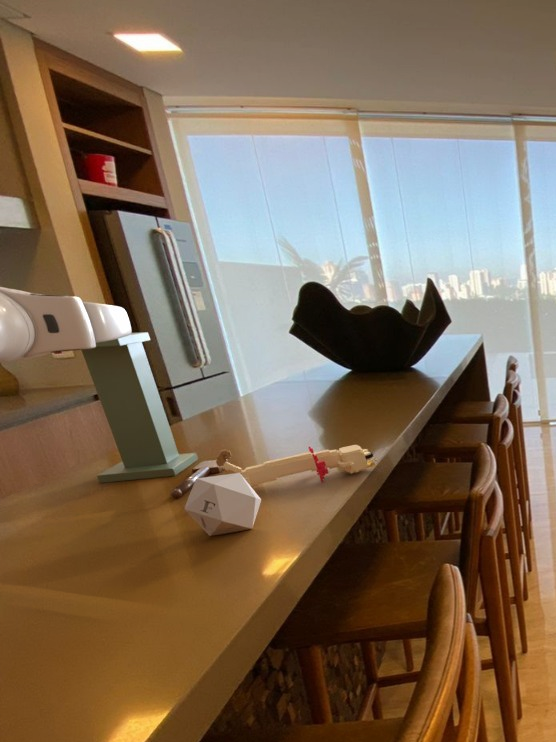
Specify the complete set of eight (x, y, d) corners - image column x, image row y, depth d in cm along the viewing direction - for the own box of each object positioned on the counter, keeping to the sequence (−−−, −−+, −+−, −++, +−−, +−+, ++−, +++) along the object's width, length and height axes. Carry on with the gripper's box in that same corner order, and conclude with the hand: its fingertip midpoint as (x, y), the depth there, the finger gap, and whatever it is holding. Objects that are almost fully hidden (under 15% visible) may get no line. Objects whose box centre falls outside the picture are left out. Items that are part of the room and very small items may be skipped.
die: (186, 536, 84) (159, 498, 76) (225, 491, 89) (204, 451, 81) (244, 554, 85) (224, 519, 77) (279, 508, 90) (263, 471, 82)
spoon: (191, 497, 97) (188, 489, 97) (160, 501, 96) (157, 492, 95) (229, 464, 116) (227, 456, 115) (204, 466, 115) (202, 459, 114)
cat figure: (230, 508, 96) (383, 470, 108) (209, 459, 92) (370, 425, 104) (229, 492, 103) (372, 458, 116) (210, 447, 100) (360, 416, 112)
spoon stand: (95, 485, 104) (37, 339, 95) (130, 465, 116) (81, 333, 107) (172, 478, 108) (124, 336, 98) (198, 459, 120) (157, 331, 110)
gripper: (-105, 353, 67) (-22, 345, 79) (106, 348, 73) (153, 341, 86) (-131, 296, 65) (-41, 297, 77) (89, 296, 71) (140, 297, 83)
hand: (62, 320), depth 81 cm, fingers open, 8 cm apart
